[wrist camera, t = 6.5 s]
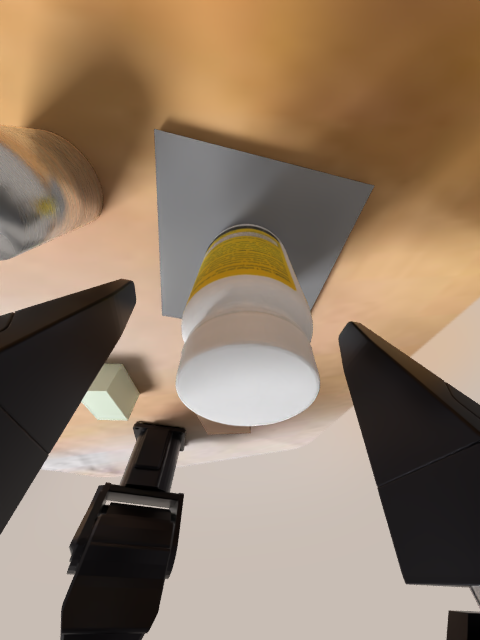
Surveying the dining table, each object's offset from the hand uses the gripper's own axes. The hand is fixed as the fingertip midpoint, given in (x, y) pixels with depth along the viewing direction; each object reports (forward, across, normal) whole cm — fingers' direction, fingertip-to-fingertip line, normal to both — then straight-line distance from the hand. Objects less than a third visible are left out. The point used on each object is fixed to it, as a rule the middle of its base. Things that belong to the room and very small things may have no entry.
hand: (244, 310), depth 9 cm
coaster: (+5, 0, 0) cm, 5 cm away
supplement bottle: (+5, 0, 0) cm, 5 cm away
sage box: (+5, +10, +15) cm, 19 cm away
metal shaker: (+5, +10, -2) cm, 11 cm away
